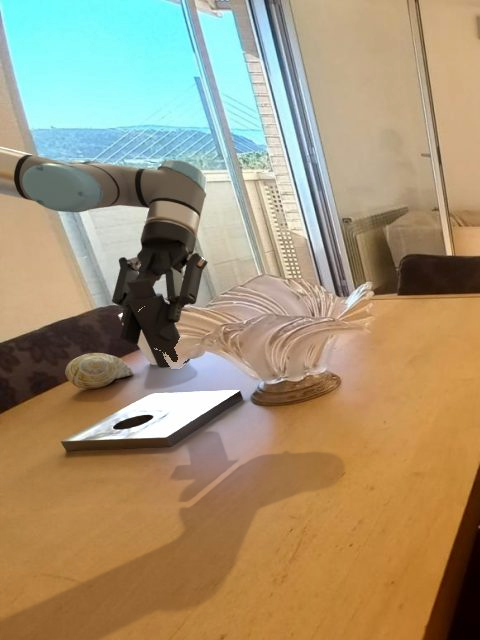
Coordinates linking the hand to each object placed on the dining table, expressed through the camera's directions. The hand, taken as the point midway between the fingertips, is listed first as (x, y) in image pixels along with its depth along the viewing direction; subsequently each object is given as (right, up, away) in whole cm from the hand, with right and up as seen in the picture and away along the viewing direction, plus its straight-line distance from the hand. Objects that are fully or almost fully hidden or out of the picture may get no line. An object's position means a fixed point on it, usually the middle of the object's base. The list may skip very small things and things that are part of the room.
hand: (146, 339), depth 84 cm
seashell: (-34, -9, +24) cm, 43 cm away
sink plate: (-3, -16, +6) cm, 17 cm away
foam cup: (-31, -4, +36) cm, 48 cm away
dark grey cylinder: (-1, -4, +6) cm, 7 cm away
